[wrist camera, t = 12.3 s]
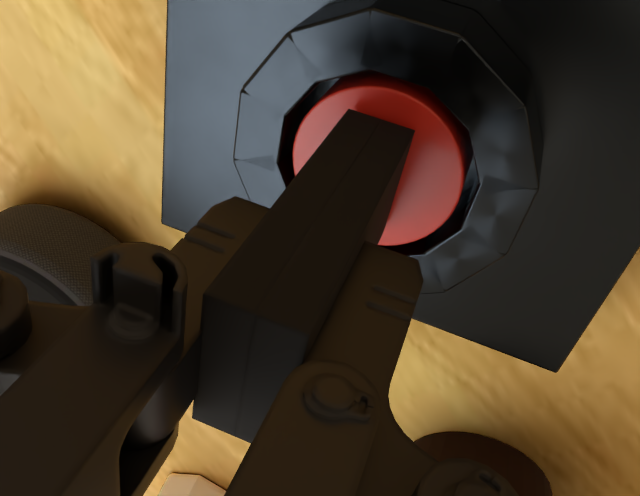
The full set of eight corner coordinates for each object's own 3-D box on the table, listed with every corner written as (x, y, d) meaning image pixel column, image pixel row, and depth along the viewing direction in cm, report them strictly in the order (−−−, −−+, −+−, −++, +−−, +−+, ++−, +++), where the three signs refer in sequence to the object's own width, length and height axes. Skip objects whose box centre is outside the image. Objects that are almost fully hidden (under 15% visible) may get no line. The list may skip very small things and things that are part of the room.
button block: (773, -47, 13) (853, 8, 9) (559, 310, 20) (554, 427, 16) (232, -185, 15) (115, -188, 11) (204, 181, 22) (124, 258, 18)
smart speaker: (186, 372, 29) (139, 438, 26) (34, 334, 31) (-26, 390, 28) (150, 209, 24) (85, 268, 21) (-28, 181, 26) (-109, 229, 23)
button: (499, 91, 14) (490, 120, 12) (444, 231, 16) (431, 269, 15) (332, 39, 14) (307, 62, 13) (304, 182, 17) (280, 213, 15)
